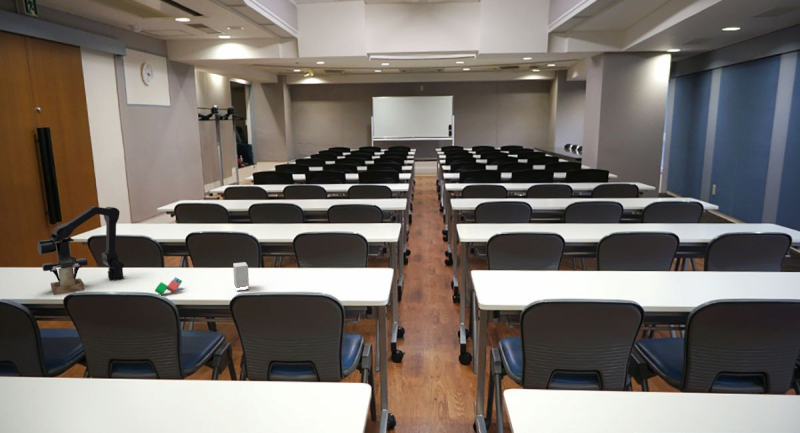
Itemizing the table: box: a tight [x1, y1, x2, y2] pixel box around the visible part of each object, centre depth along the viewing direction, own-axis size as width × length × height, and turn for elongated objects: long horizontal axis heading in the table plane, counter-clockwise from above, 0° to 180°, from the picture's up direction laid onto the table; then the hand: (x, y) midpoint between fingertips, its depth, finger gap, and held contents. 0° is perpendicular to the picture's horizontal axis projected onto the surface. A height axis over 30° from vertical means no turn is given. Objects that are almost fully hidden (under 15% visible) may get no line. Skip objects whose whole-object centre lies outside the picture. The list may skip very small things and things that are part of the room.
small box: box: [232, 261, 250, 288], centre depth 254 cm, size 8×6×13 cm
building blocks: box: [154, 276, 183, 296], centre depth 249 cm, size 8×8×12 cm
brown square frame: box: [50, 278, 85, 296], centre depth 254 cm, size 13×13×3 cm
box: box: [58, 266, 75, 287], centre depth 253 cm, size 5×4×11 cm
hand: (67, 280), depth 253 cm, fingers closed on box, 6 cm apart
